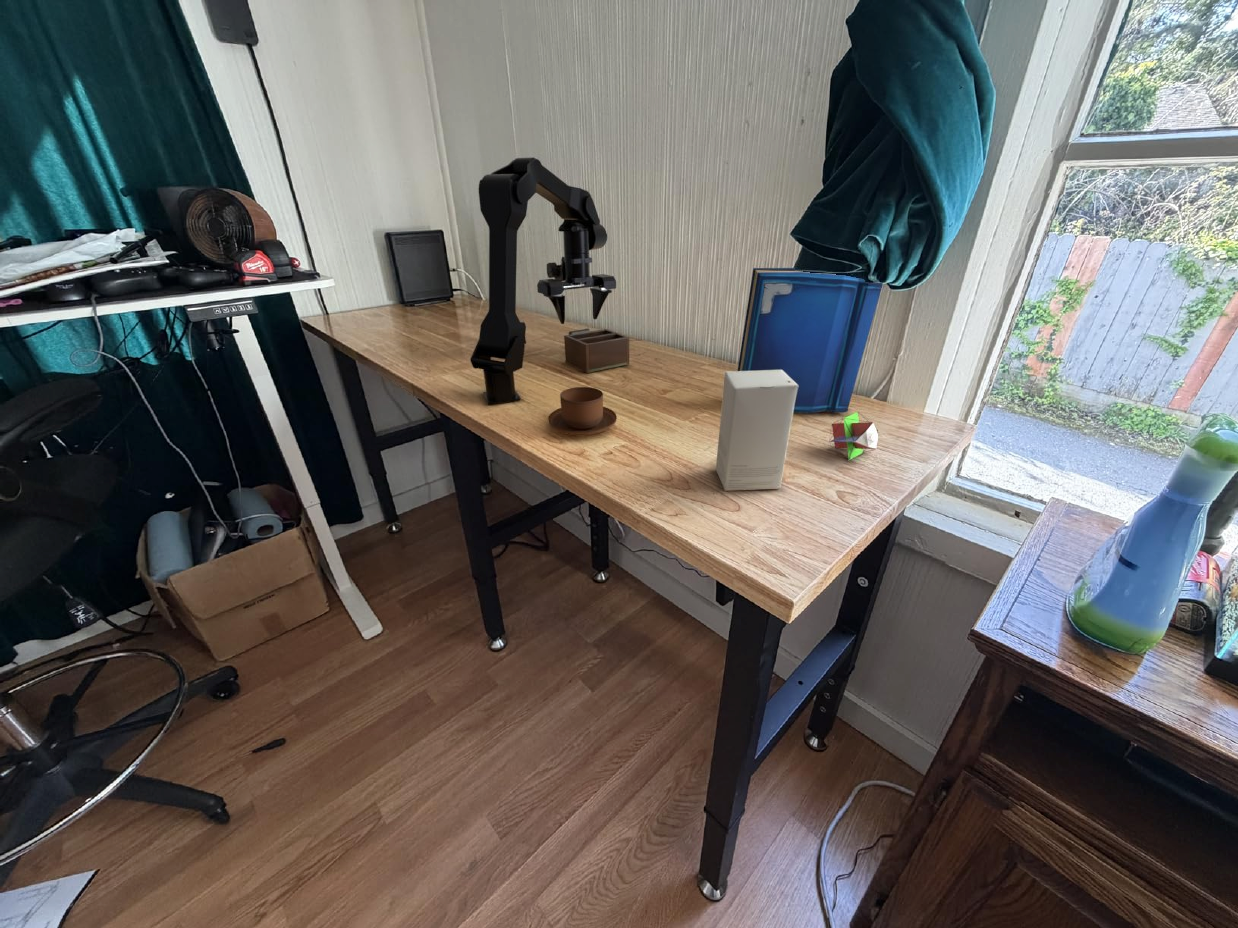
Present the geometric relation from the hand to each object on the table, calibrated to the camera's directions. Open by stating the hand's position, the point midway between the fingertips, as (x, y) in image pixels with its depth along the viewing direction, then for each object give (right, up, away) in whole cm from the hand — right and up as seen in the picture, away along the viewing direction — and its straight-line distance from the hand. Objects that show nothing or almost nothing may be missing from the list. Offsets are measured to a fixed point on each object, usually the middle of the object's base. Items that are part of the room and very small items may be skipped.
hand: (578, 321), depth 121 cm
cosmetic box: (+28, -38, -50) cm, 68 cm away
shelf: (+3, -10, 0) cm, 10 cm away
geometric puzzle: (+46, -34, -42) cm, 71 cm away
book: (+43, -24, -25) cm, 56 cm away
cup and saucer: (+3, -29, -34) cm, 44 cm away
